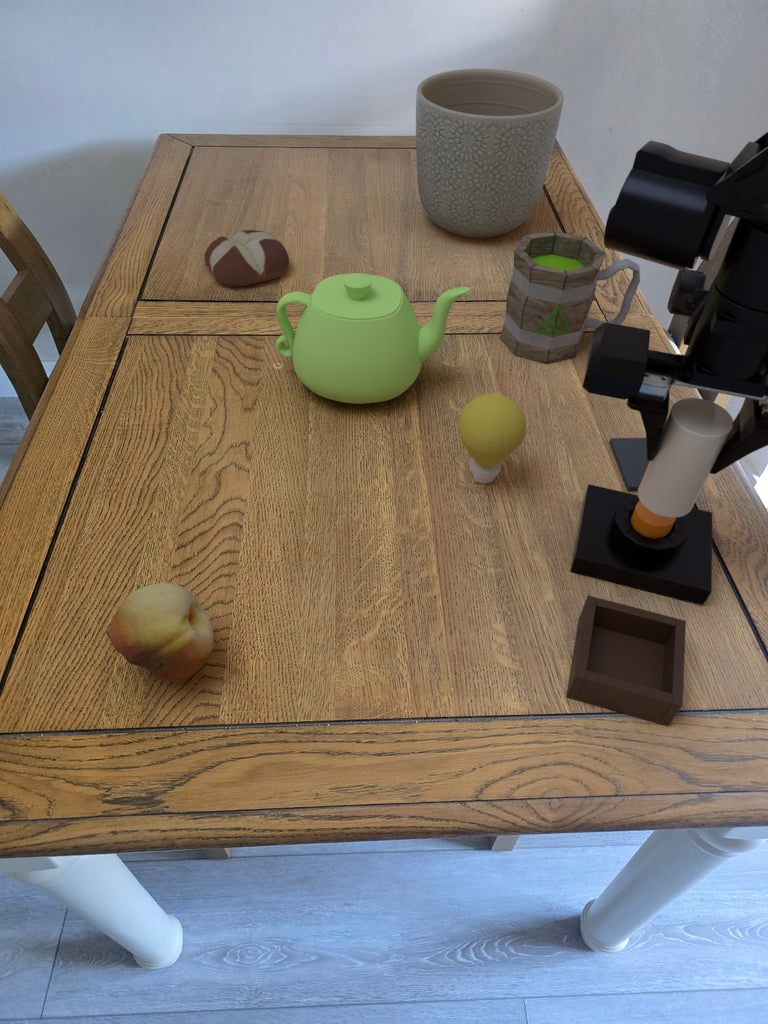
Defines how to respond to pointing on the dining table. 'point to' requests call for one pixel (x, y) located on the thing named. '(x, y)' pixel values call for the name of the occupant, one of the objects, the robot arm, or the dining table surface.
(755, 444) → the robot arm
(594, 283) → the mug
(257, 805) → the dining table surface
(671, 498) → the canister
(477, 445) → the light bulb
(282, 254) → the bread
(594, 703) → the holder
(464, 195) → the planter
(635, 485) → the mat
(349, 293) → the teapot
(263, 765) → the dining table surface
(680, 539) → the base
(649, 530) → the button
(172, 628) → the fruit
